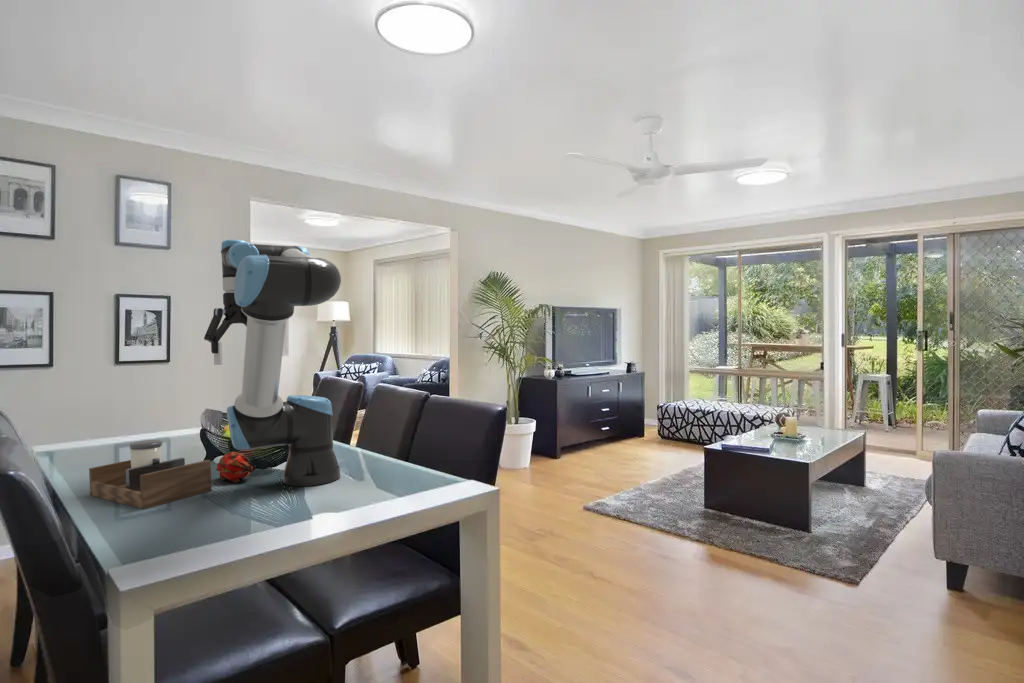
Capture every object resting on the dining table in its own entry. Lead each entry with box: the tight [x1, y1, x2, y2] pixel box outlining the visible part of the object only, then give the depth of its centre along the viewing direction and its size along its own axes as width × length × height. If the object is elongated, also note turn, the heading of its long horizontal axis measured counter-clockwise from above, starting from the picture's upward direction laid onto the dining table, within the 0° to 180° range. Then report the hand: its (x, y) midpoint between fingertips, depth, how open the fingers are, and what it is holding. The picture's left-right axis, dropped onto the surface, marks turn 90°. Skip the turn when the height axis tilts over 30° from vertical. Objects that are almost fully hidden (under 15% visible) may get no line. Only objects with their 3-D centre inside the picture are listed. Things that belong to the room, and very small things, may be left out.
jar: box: [129, 439, 163, 468], centre depth 154 cm, size 7×7×12 cm
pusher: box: [126, 457, 186, 492], centre depth 152 cm, size 2×14×8 cm, turn 150°
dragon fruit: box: [215, 451, 256, 483], centre depth 165 cm, size 8×8×12 cm
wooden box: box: [88, 459, 212, 510], centre depth 153 cm, size 25×17×8 cm
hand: (239, 363), depth 178 cm, fingers open, 13 cm apart
